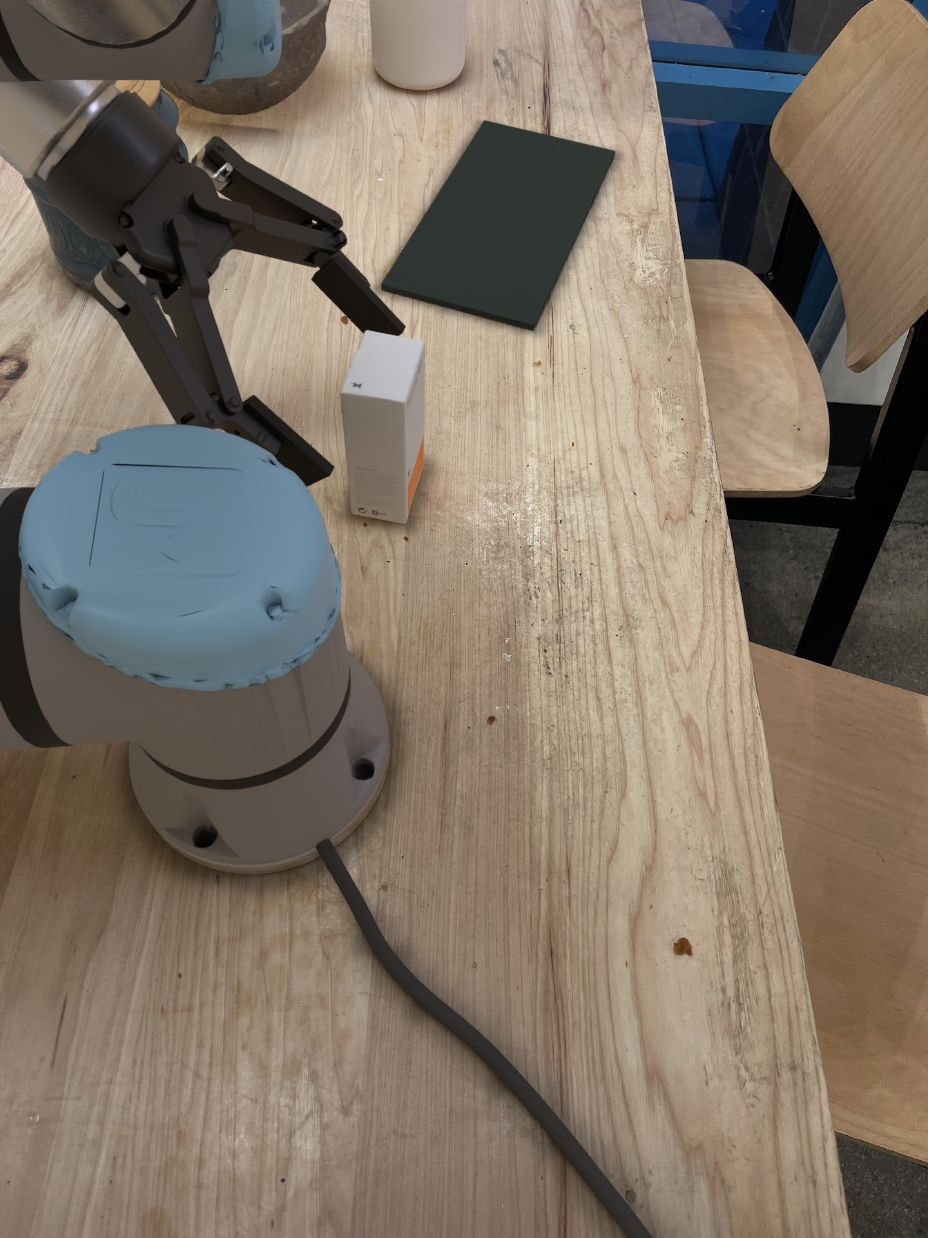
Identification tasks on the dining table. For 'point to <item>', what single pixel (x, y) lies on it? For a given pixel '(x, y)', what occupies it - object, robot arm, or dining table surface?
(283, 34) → the bowl
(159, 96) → the canister
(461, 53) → the cup
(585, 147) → the mat
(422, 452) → the cosmetic box
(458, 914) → the dining table surface
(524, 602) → the dining table surface
